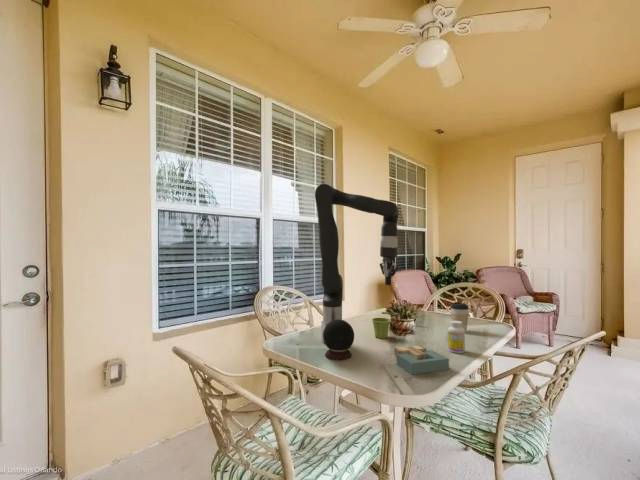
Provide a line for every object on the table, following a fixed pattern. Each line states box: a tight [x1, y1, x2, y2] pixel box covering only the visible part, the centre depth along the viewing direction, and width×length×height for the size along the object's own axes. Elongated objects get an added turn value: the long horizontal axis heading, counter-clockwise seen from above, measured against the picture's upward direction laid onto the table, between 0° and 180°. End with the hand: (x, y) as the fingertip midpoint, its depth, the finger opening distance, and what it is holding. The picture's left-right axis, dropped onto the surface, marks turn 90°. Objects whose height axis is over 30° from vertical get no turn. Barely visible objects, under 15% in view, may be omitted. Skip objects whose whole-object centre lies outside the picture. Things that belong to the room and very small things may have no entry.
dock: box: [396, 349, 450, 376], centre depth 121 cm, size 16×10×4 cm, turn 107°
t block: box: [393, 345, 427, 363], centre depth 125 cm, size 12×10×5 cm
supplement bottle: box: [447, 320, 466, 354], centre depth 139 cm, size 7×7×13 cm
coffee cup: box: [450, 301, 469, 333], centre depth 171 cm, size 9×9×15 cm
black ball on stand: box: [323, 319, 355, 362], centre depth 134 cm, size 13×13×15 cm
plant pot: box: [371, 317, 392, 340], centre depth 161 cm, size 9×9×9 cm
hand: (388, 285), depth 143 cm, fingers closed
